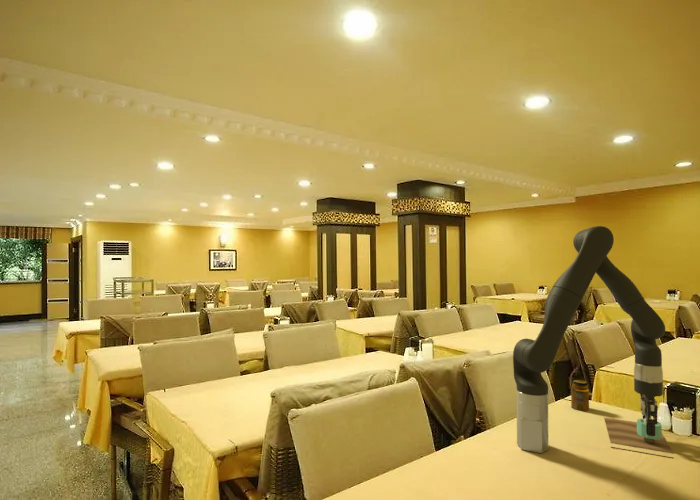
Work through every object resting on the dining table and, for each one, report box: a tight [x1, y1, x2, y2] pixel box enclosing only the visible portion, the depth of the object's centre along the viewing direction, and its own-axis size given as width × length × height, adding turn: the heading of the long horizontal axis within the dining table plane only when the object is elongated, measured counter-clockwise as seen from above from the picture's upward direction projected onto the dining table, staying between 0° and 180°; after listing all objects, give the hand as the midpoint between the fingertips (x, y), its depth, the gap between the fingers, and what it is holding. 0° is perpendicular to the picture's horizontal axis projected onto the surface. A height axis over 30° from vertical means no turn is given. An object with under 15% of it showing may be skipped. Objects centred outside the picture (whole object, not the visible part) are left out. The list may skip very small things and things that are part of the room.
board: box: [603, 417, 674, 460], centre depth 140 cm, size 24×16×9 cm, turn 153°
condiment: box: [570, 379, 590, 412], centre depth 163 cm, size 7×8×12 cm
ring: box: [636, 418, 662, 439], centre depth 134 cm, size 6×6×4 cm
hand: (648, 431), depth 134 cm, fingers closed on ring, 6 cm apart
